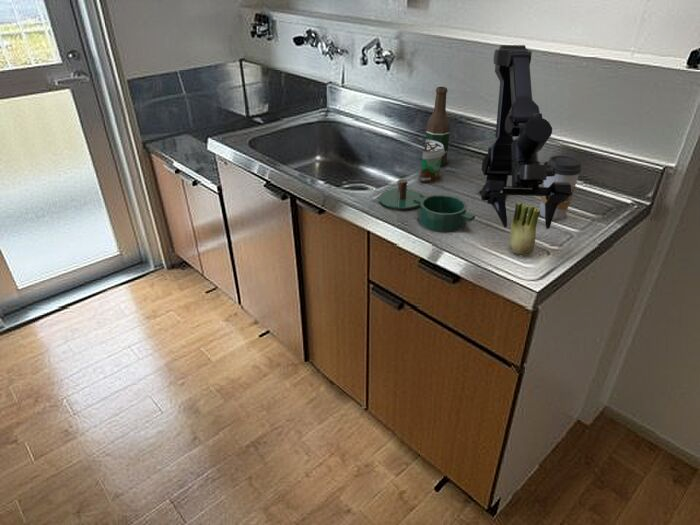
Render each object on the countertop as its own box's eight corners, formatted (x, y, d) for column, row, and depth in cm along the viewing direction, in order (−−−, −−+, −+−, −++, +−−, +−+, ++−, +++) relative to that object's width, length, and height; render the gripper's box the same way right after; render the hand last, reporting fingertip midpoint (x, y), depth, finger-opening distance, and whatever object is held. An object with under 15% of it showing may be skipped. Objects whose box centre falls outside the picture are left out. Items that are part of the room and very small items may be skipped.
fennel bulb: (504, 247, 115) (513, 200, 109) (523, 245, 116) (533, 198, 110) (516, 260, 111) (526, 211, 104) (536, 257, 112) (547, 209, 105)
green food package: (441, 186, 146) (444, 153, 140) (420, 184, 147) (422, 152, 141) (442, 170, 156) (446, 140, 151) (423, 169, 157) (425, 138, 152)
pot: (426, 204, 135) (428, 188, 132) (481, 223, 126) (484, 206, 123) (402, 219, 128) (403, 202, 125) (458, 240, 118) (461, 222, 116)
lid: (396, 188, 144) (397, 168, 141) (432, 200, 137) (434, 180, 134) (370, 202, 136) (370, 181, 133) (406, 215, 130) (408, 194, 126)
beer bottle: (441, 169, 157) (448, 91, 144) (419, 164, 161) (424, 88, 148) (450, 161, 163) (458, 86, 150) (428, 157, 166) (435, 83, 154)
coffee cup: (552, 225, 125) (566, 168, 117) (528, 212, 131) (539, 158, 123) (575, 218, 128) (590, 163, 120) (551, 205, 134) (563, 152, 126)
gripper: (491, 145, 105) (492, 214, 102) (580, 147, 104) (585, 217, 100) (480, 167, 116) (481, 230, 112) (561, 169, 115) (564, 233, 111)
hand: (526, 227), depth 109 cm, fingers open, 9 cm apart
